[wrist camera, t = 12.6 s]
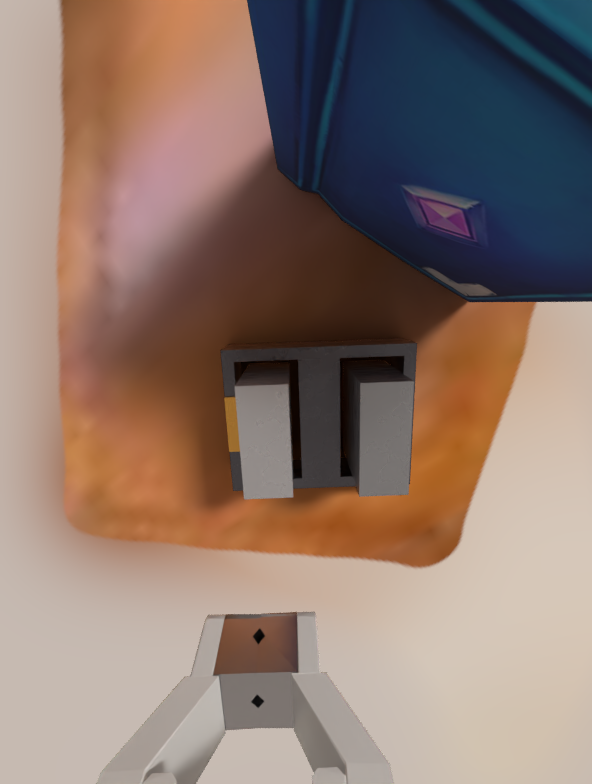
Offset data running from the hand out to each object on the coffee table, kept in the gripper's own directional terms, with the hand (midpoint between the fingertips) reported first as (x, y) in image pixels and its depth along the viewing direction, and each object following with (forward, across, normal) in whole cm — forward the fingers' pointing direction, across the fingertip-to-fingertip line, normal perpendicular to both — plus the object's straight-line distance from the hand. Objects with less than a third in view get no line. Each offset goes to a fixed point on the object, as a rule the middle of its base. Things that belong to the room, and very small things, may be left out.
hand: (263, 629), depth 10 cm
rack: (+26, -3, +2) cm, 26 cm away
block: (+26, +1, +2) cm, 26 cm away
